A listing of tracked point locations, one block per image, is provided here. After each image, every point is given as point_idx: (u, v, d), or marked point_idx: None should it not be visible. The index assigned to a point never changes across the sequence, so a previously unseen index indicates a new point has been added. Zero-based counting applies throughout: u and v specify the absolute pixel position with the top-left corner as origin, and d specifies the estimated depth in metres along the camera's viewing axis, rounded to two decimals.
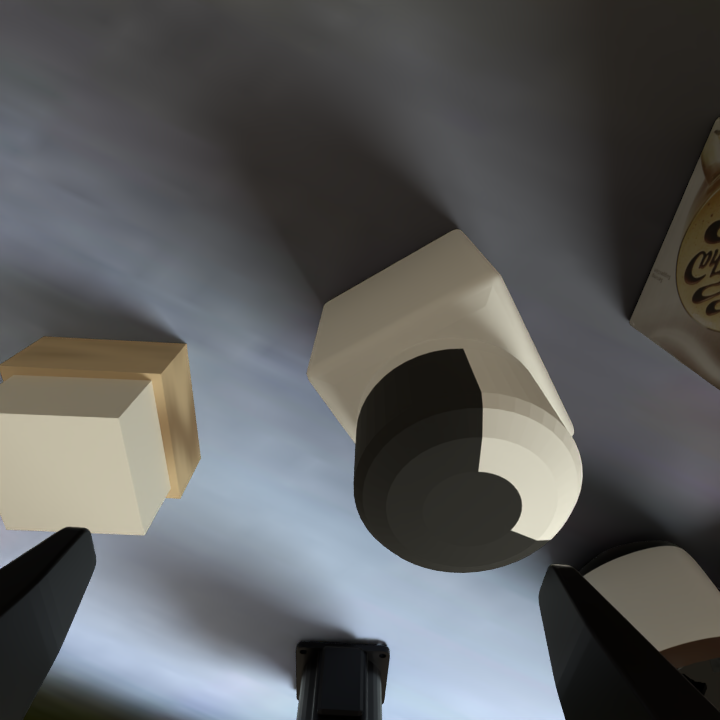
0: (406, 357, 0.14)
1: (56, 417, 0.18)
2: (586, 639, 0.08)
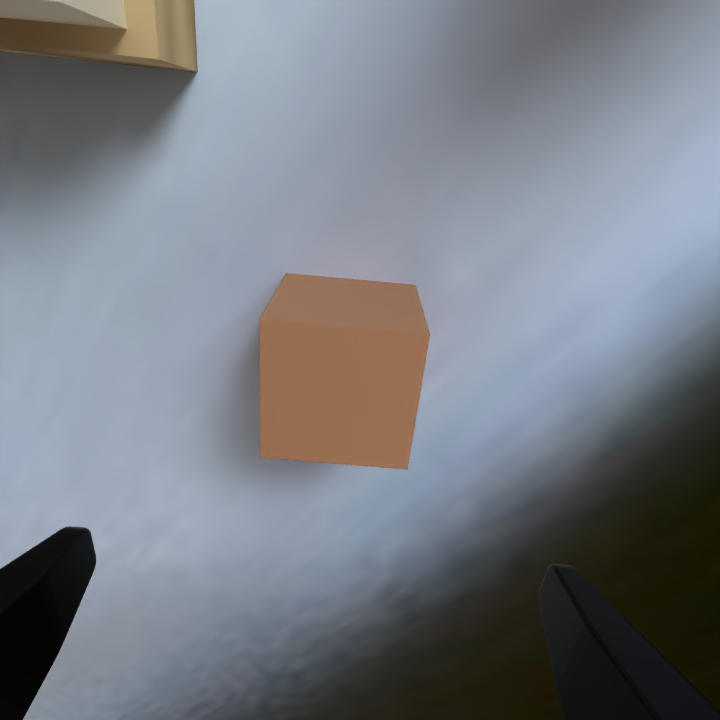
0: None
1: None
2: (586, 639, 0.08)
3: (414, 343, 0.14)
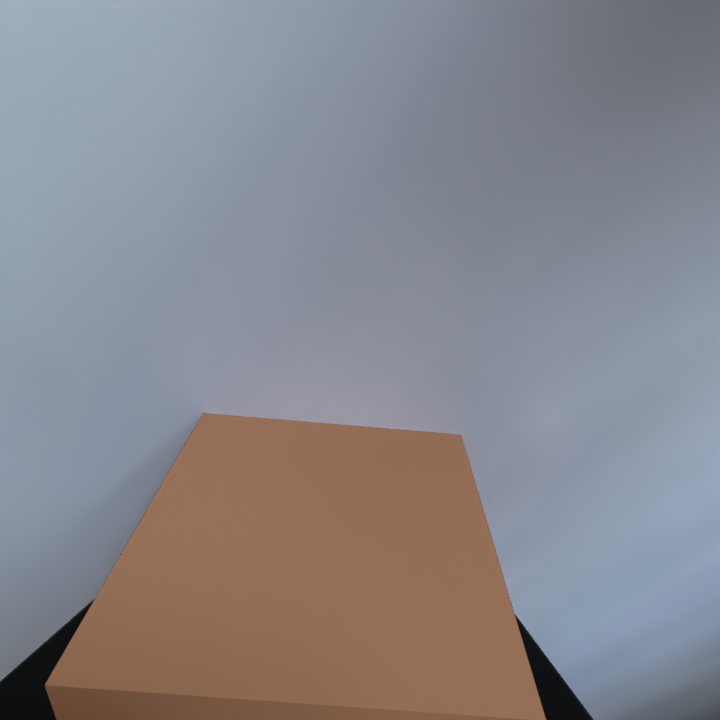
0: None
1: None
2: None
3: None
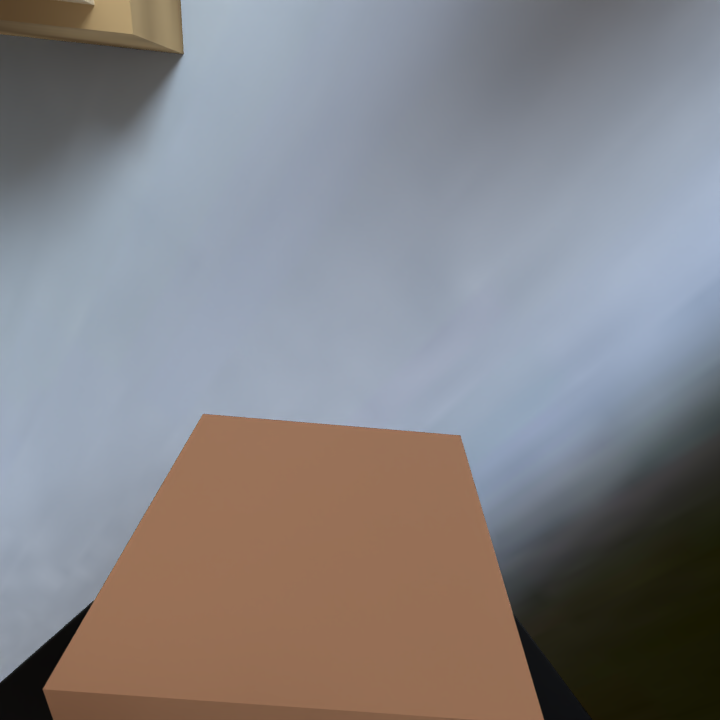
0: None
1: None
2: None
3: None
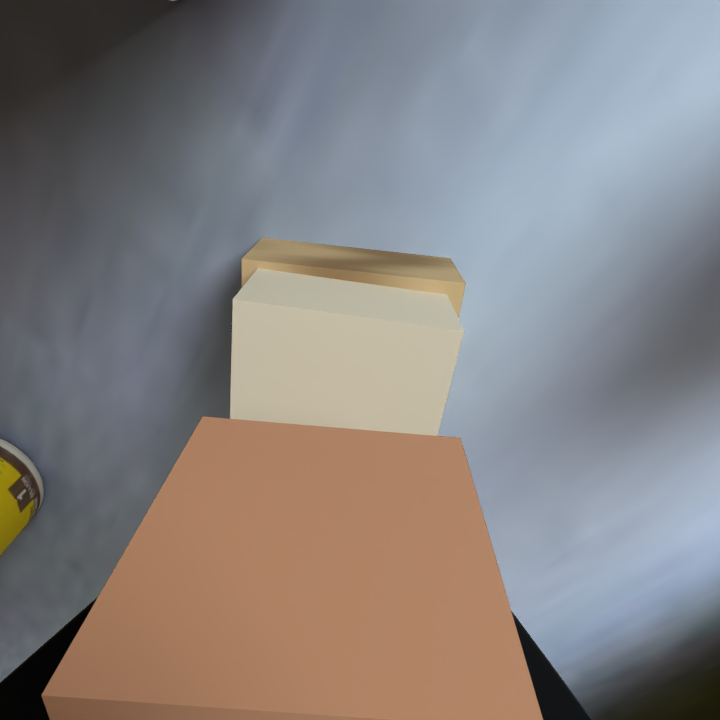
0: None
1: (234, 380, 0.13)
2: None
3: None
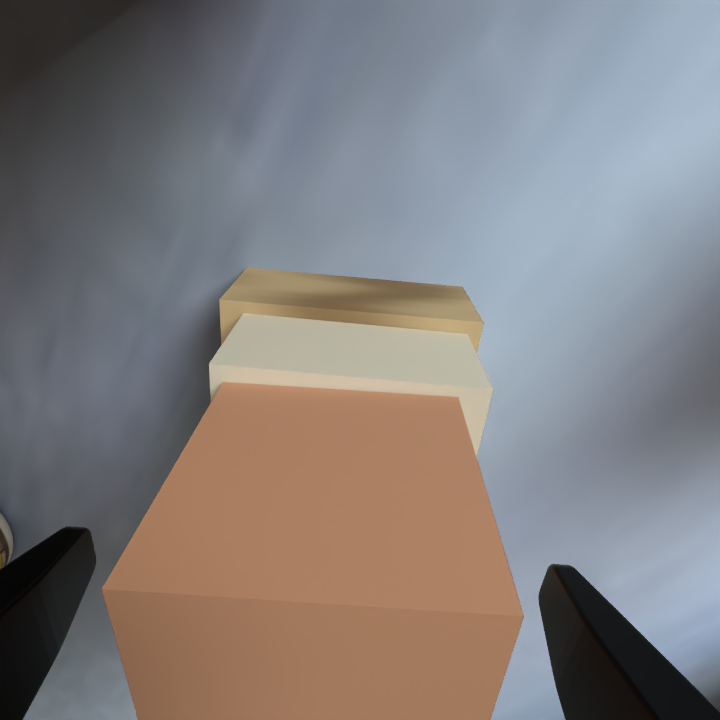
0: None
1: None
2: (586, 639, 0.08)
3: (484, 632, 0.06)
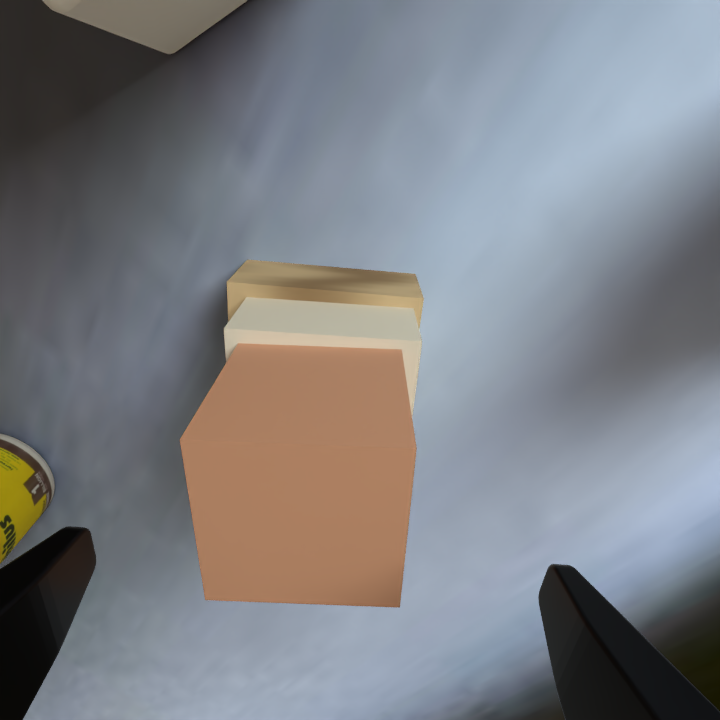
0: None
1: None
2: (586, 639, 0.08)
3: (395, 461, 0.10)
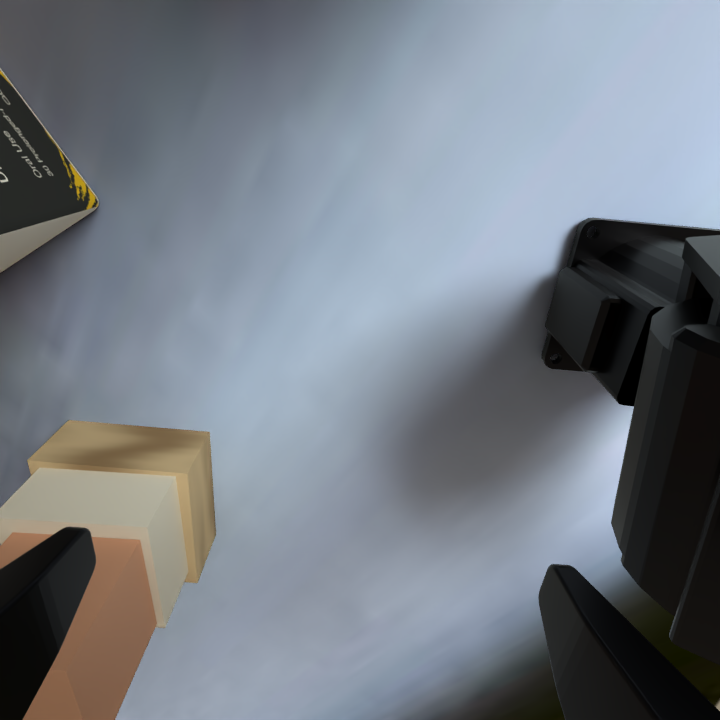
0: None
1: None
2: (586, 639, 0.08)
3: (55, 677, 0.14)
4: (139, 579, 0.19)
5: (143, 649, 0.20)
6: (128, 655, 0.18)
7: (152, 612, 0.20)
